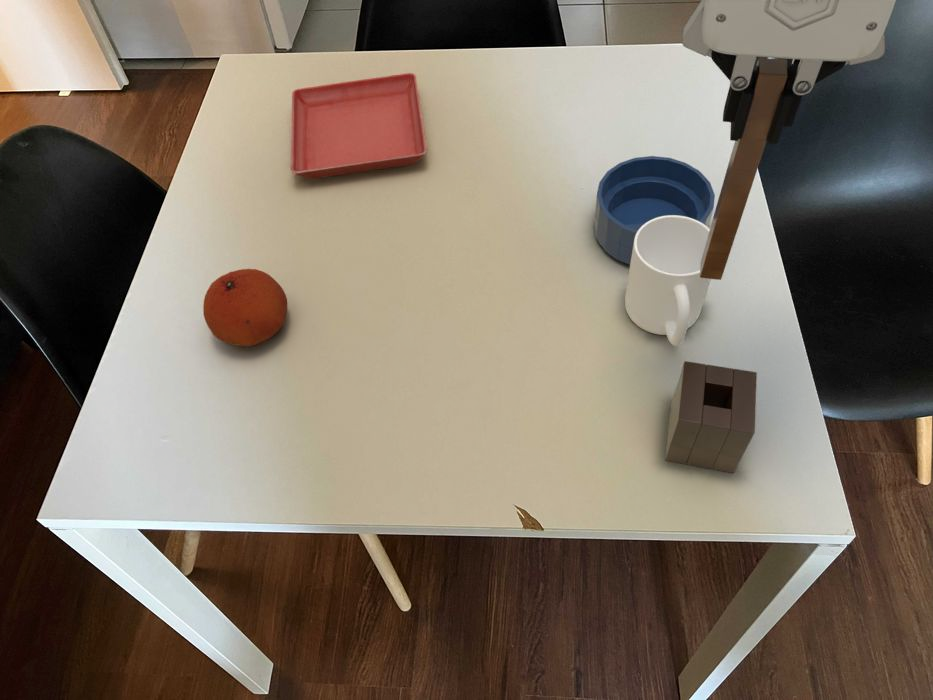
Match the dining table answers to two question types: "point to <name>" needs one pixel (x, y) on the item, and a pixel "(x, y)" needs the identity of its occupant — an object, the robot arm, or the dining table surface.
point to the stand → (711, 416)
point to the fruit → (244, 307)
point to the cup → (667, 276)
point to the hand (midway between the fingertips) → (753, 128)
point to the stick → (743, 166)
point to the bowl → (647, 199)
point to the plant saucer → (356, 126)
